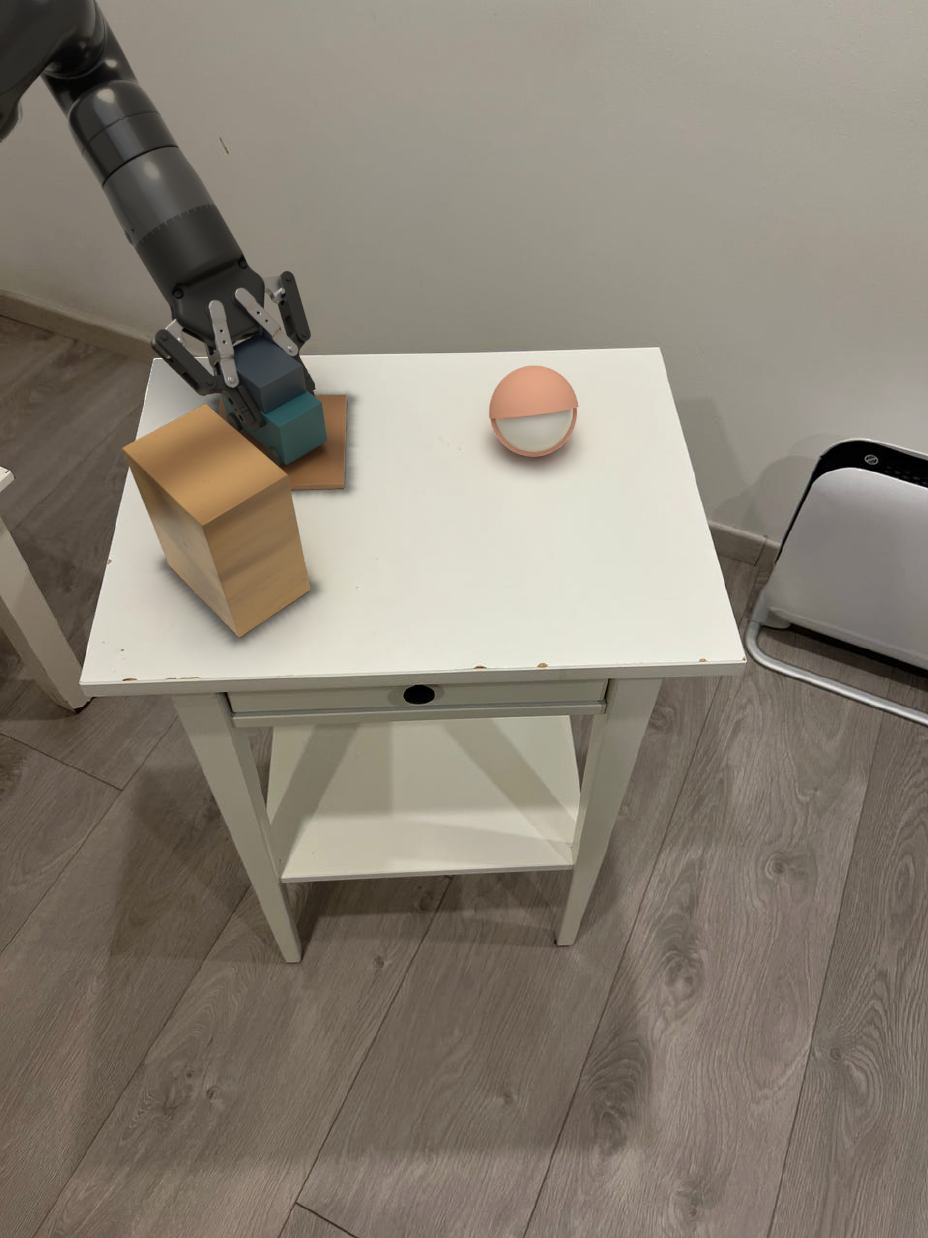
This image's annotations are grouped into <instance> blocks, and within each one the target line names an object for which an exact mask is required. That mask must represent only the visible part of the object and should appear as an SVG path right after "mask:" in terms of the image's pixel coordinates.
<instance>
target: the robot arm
mask: <svg viewBox="0 0 928 1238" xmlns="http://www.w3.org/2000/svg"><path fill="white" fill-rule="evenodd" d="M38 78H40V79H41V81H42V82H43V84H44V85H45V87H46V89H47V90H48V92H49V93H50V94H51V95H50V96H52V98H53V99H54V101H55V103H56V104H57V106H58V107H59V109H60V110H61V113H62V114H63V115H64V117H65V119H66V120H67V127H68V131H69V133H70V135H71V137H72V139H73V142H74V144H75V147H76V148H77V150H78V152H79V153H80V155H81V157H82V158H83V160H84V161H85V163H86V165H87V167H88V168H89V170H90V172H91V173H92V175H93V176H94V178H95V179H96V181H97V183H98V184H99V186H100V189H102V191H103V193H104V195H105V198H106V199H107V201H108V204H109V205H110V207H111V210H112V212H113V215H114V216H115V218H116V220H117V222H118V224H119V226H120V227H121V229H122V231H123V233H124V237H125V238H126V240H127V242H128V243H129V244H130V245H131V246H132V247H133V249H134V250H135V252H136V254H137V255H138V257H139V259H140V260H141V262H142V263H143V265H144V267H145V269H146V271H147V272H148V273H149V275H150V277H151V279H152V280H153V282H154V283H155V286H156V287H157V288H158V290H159V291H160V293H161V295H162V296H163V298H164V300H165V301H166V302H167V304H168V306H169V309H170V314H171V315H170V316H171V322H170V323H169V324H168V325H167V326H165V328H161V329H159V330H158V331H157V332H156V333H155V334H154V336H153V337H152V338H151V340H150V347H151V349H152V350H153V351H154V352H155V353H156V354H157V355H158V356H159V357H160V358H161V359H162V360H163V361H164V362H165V363H166V364H167V365H168V366H169V367H170V368H171V369H172V370H173V371H174V372H175V373H176V374H177V375H178V376H179V377H180V378H181V379H182V380H183V381H184V382H185V383H186V384H187V385H188V386H189V387H190V388H191V389H192V390H193V391H194V392H195V393H196V394H198V395H199V396H202V397H205V396H208V395H213V394H218V395H221V396H222V395H223V396H224V397H225V398H226V399H227V401H228V402H229V404H230V406H231V407H232V409H233V411H234V412H235V414H236V416H237V417H238V419H239V421H240V422H241V424H243V425H244V426H245V427H248V426H250V427H251V428H252V430H254V431H256V430H258V429H259V428H261V427H263V426H265V425H266V421H265V419H264V417H263V416H262V414H261V412H260V410H259V408H258V407H257V405H256V403H255V401H254V400H253V398H252V396H251V395H250V393H249V391H248V390H247V388H246V386H245V385H244V384H243V385H240V384H239V377H238V373H237V369H236V366H235V362H234V350H233V346H234V345H235V344H236V343H237V342H238V341H244V340H246V339H248V338H250V337H252V336H254V335H256V334H258V333H261V335H260V337H261V338H263V339H265V340H267V341H269V340H270V341H271V342H273V343H274V344H275V345H277V346H278V347H279V348H281V349H282V350H283V351H284V352H286V353H287V354H288V355H290V356H291V357H292V358H294V359H295V360H296V361H297V362H299V363H300V364H301V365H302V367H303V373H304V380H305V386H306V390H307V391H308V392H309V393H310V394H312V395H313V396H314V397H315V395H316V394H315V390H316V383H315V381H314V379H313V377H312V376H311V374H310V372H309V370H308V369H307V367H306V365H305V364H304V361H303V360H302V358H301V356H300V351H301V349H302V348H303V346H304V345H305V344H306V343H307V342H308V341H309V340H311V337H312V333H311V330H310V326H309V323H308V320H307V319H308V318H307V316H306V312H305V308H304V306H303V302H302V299H301V295H300V291H299V288H298V284H297V281H296V277H295V275H294V273H292V271H289V270H285V271H283V272H282V273H281V274H279V275H274V276H268V277H262V276H261V275H260V274H259V273H258V272H256V271H255V270H254V269H253V268H252V267H251V266H250V265H249V264H248V262H247V259H246V257H245V254H244V252H243V250H242V249H241V247H240V245H239V243H238V242H237V240H236V238H235V237H234V235H233V233H232V231H231V230H230V227H229V225H228V224H227V222H226V220H225V219H224V217H223V215H222V213H221V212H220V210H219V208H218V206H217V205H216V203H215V201H214V200H213V198H212V196H211V194H210V193H209V191H208V189H207V188H206V185H205V183H204V182H203V180H202V177H200V175H199V174H198V172H197V171H196V169H195V168H194V166H193V165H192V164H191V163H190V161H189V159H187V157H186V156H185V154H184V152H183V151H182V150H181V149H180V146H179V144H178V143H177V141H176V139H175V136H174V135H173V134H172V132H171V130H170V128H169V127H168V124H167V122H166V121H165V120H164V118H163V116H162V114H161V113H160V111H159V109H158V108H157V106H156V105H155V103H154V102H153V101H152V100H153V99H151V97H150V96H149V95H148V93H147V92H146V91H145V90H144V88H143V87H142V86H141V84H140V83H139V80H138V78H137V76H136V75H135V72H134V70H133V68H132V67H131V64H130V62H129V60H128V58H127V56H126V54H125V52H124V51H123V49H122V46H121V45H120V43H119V41H118V39H117V36H116V35H115V33H114V31H113V29H112V28H111V25H110V23H109V22H108V20H107V18H106V16H105V14H104V13H103V11H102V9H101V7H100V5H99V3H98V2H97V0H0V146H1V145H2V144H3V142H6V141H7V140H8V139H9V138H10V137H11V136H12V134H14V132H15V131H16V130H17V128H19V126H20V124H21V122H22V121H23V116H24V110H23V105H22V99H23V97H24V95H25V94H26V93H27V92H28V90H29V89H30V88H31V87H32V86H33V85H34V83H35V82H36V81H37V80H38ZM265 294H267V295H268V296H269V298H270V300H271V301H272V303H273V304H277V307H278V311H279V313H280V317H281V321H282V324H283V328H284V331H285V332H284V331H283V330H282V328H281V325H280V324H279V323H278V322H277V321H276V319H274V318H273V317H272V316H271V315H270V313H269V312H267V310H265ZM183 333H184V334H186V335H188V336H190V337H192V338H193V339H195V340H197V341H199V342H201V343H203V344H204V348H205V352H206V356H207V359H208V360H207V361H208V363H209V366H210V367H211V368H212V371H213V374H212V373H211V372H209V370H208V369H207V368H205V366H204V365H203V364H202V363H201V362H200V361H199V360H198V359H197V358H196V357H195V356H194V355H193V354H192V353H191V352H190V351H189V350H188V349H187V348H186V346H187V341H186V339H185V338H184V336H183Z"/></svg>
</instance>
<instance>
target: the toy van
mask: <svg viewBox="0 0 928 1238" xmlns="http://www.w3.org/2000/svg"><path fill="white" fill-rule="evenodd" d="M260 335H261V333H258V334H256V335H254V336H252V337H249V338H247V339H244V340H241V342H238V343H237V344H236V343H235V344H233V345H232V346H233V350H234V362H235V366H236V369H237V373H238V377H239V384H240V385H243V384H244V385H245V386H246V388H247V390H248V391H249V393H250V395H251V396H252V398H253V400H254V401H255V403H256V405H257V407H258V408H259V410H260V412H261V414H262V416H263V417H264V419H265V421H266V425H265V426H263V427H261V428H259V429H258V430H256V431H254V430H252V428H251V427H250V426H248V427H245V426H244V425H243V424H241V422H240V421H239V419H238V417H237V416H236V414H235V412H234V411H233V409H232V407H231V406H230V404H229V402H228V401H227V399H226V398H225V397H224V396H223V395H222V394H221V397H222V398H223V402H224V406H225V409H226V413H227V416H226V418H227V421H228V423H229V424H230V425H231V426H232V427H233V428H234V429H235V430H237V431H238V432H240V431H241V430H243V429H245V430H246V431H247V432H248V433H249V434H251V435H252V436H253V437H254V438H255V439H256V440H258V441H259V442H260V443H261V444H262V445H263V446H265V447H266V448H267V449H266V453H267V456H268V458H269V459H270V460H271V461H272V462H274V463H275V464H276V465H277V466H278V467H279V466H280V465H282V464H286V465H288V464H289V463H291V462H293V461H294V460H296V459H298V458H299V457H301V456H303V455H304V454H306V453H308V452H309V451H311V450H313V449H314V448H316V447H318V446H319V445H321V444H323V443H324V442H326V441H327V434H326V428H325V420H324V413H323V406H322V402H321V401H319V400H318V399H317V398H316V397H314V396H313V395H312V394H310V393H309V392H308V391H307V390H306V386H305V380H304V373H303V367H302V365H301V364H300V363H299V362H297V361H296V360H295V359H294V358H292V357H291V356H290V355H288V354H287V353H286V352H284V351H283V350H282V349H281V348H279V347H278V346H277V345H275V344H274V343H273V342H271V341H270V340H269V341H267V340H265V339H263V338H261V337H260Z"/></svg>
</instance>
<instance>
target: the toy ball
mask: <svg viewBox="0 0 928 1238" xmlns="http://www.w3.org/2000/svg"><path fill="white" fill-rule="evenodd" d="M578 402H579V401H578V398H577V395H576V392H575V390H574V389H573V386H572V385H571V383H570V382H569V381H568V380H567V378H565V377H564V376H563V375H562V374H561V373H559V372H558V371H556V370H555V369H552V368H551V367H547V366H543V365H526V366H522V367H519V368H517V369H514V370H512V371H511V372H509V373H508V374H507V375H506V376H504V377H503V378H502V379H501V380H500V382H499V383H498V384H497V385H496V387H495V388H494V390H493V393H492V395H491V397H490V402H489V407H488V418H489V419H490V424H491V427H492V430H493V433H494V435H495V436H496V438H497V440H499V442H500V443H501V444H502V445H503V446H504V447H505V448H507V449H508V450H510V451H511V452H512V453H515V454H517V455H520V456H524V457H532V458H533V457H535V458H536V457H543V456H547V455H550V454H552V453H554V452H556V451H557V450H559V449H560V448H562V447H563V445H565V443H566V442H568V440H569V439H570V437H571V435H572V434H573V431H574V429H575V426H576V424H577V418H578V409H577V408H579V403H578Z"/></svg>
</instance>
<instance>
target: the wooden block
mask: <svg viewBox="0 0 928 1238" xmlns="http://www.w3.org/2000/svg"><path fill="white" fill-rule="evenodd" d="M122 452H123V454H124V457H125V459H126V462H127V465H128V467H129V469H130V472H131V474H132V477H133V479H134V482H135V484H136V487H137V489H138V492H139V494H140V497H141V499H142V502H143V505H144V507H145V509H146V511H147V515H148V517H149V520H150V522H151V524H152V527H153V529H154V532H155V534H156V536H157V539H158V541H159V544H160V547H161V550H162V552H163V554H164V557H165V560H166V562H167V564H168V566H169V567H170V568H171V569H172V570H173V572H175V573H176V574H177V575H178V576H179V577H180V578H181V579H182V580H183V582H185V584H187V586H188V587H189V588H190V589H191V590H192V591H193V592H194V593H195V594H196V595H197V596H198V597H199V598H200V599H201V600H202V601H203V602H204V603H205V604H206V605H207V606H208V607H209V609H211V611H213V612H214V614H216V616H217V617H218V618H219V619H220V620H221V621H222V622H223V623H224V624H225V625H226V626H227V627H228V628H229V629H230V630H231V631H232V633H234V634H235V635H236V637H238V638H241V637H243V636H245V635H246V634H248V633H249V632H251V631H252V630H253V629H255V628H256V627H258V626H259V625H261V624H262V623H264V622H265V621H267V620H269V618H271V617H272V616H274V615H275V614H277V613H279V612H280V611H282V610H283V609H284V608H286V607H288V606H289V605H290V604H292V603H293V602H295V601H296V600H298V599H299V598H301V597H303V596H304V595H305V594H306V593H308V592H310V591H311V584H310V579H309V574H308V570H307V564H306V559H305V555H304V550H303V544H302V540H301V534H300V530H299V529H300V528H299V525H298V520H297V519H298V518H297V515H296V509H295V504H294V500H293V494H292V490H291V489H290V484H289V479H288V475H287V474H286V473H285V472H284V471H283V470H282V469H281V468H279V467H278V466H277V465H276V464H275V463H274V462H272V461H271V460H270V459H269V458H268V457H267V456H265V455H264V454H263V453H262V452H261V451H260V450H259V449H257V448H256V447H255V446H254V445H253V444H252V443H250V442H249V441H248V440H247V439H246V438H245V437H244V436H242V435H241V434H240V433H239V432H238V431H237V430H235V429H234V428H233V427H232V426H231V425H230V424H229V423H227V422H226V421H225V420H224V419H223V418H222V417H220V416H219V415H218V412H216V411H215V410H213V409H212V408H211V407H210V406H209V405H208V404H206V403H204V404H202V405H200V406H199V407H197V408H195V409H193V410H191V411H189V412H187V413H185V414H183V415H180V417H177V418H176V419H174V420H172V421H170V422H168V423H166V424H164V425H163V426H160V427H159V428H157V429H155V430H153V431H151V432H149V433H147V434H145V435H143V436H142V437H139V438H138V439H136V440H133V442H130V443H129V444H127V445H125V446H123V447H122Z"/></svg>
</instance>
